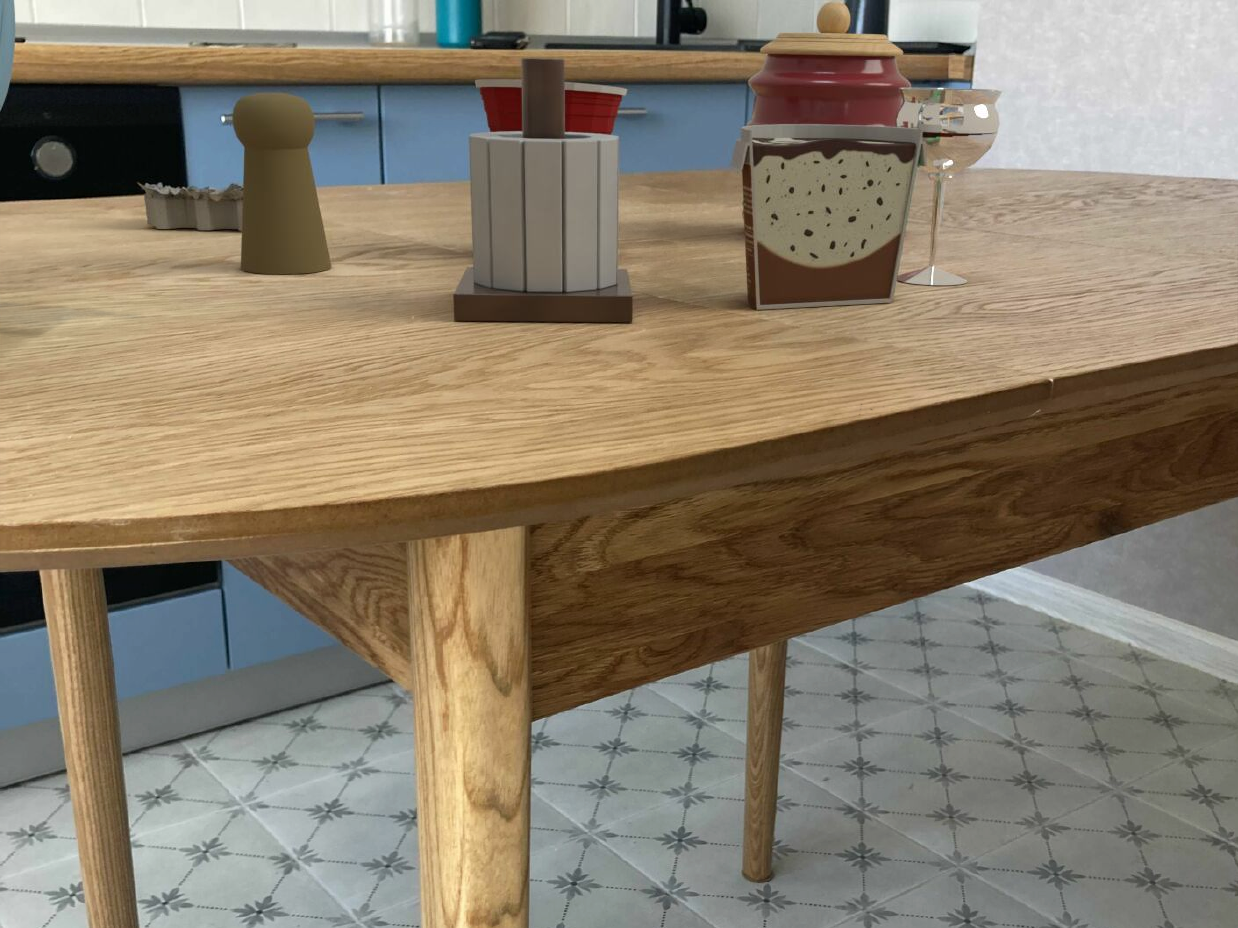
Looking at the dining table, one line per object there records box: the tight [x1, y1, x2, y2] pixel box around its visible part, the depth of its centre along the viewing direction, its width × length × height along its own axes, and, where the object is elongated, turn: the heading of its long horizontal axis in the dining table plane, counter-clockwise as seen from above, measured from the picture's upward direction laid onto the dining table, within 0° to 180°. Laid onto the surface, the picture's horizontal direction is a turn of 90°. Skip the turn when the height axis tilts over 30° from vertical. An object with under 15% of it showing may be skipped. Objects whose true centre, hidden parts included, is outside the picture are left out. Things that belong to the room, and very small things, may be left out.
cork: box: [231, 92, 332, 275], centre depth 90 cm, size 6×6×11 cm
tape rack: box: [452, 57, 634, 324], centre depth 78 cm, size 10×10×14 cm
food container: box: [730, 124, 927, 311], centre depth 83 cm, size 12×6×10 cm, turn 111°
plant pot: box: [468, 131, 620, 293], centre depth 78 cm, size 8×8×8 cm
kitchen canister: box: [741, 1, 912, 232], centre depth 110 cm, size 13×13×18 cm
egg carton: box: [136, 181, 243, 233], centre depth 111 cm, size 11×8×4 cm
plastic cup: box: [474, 78, 628, 135], centre depth 98 cm, size 11×11×12 cm
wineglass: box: [894, 87, 1003, 286], centre depth 90 cm, size 7×7×12 cm
